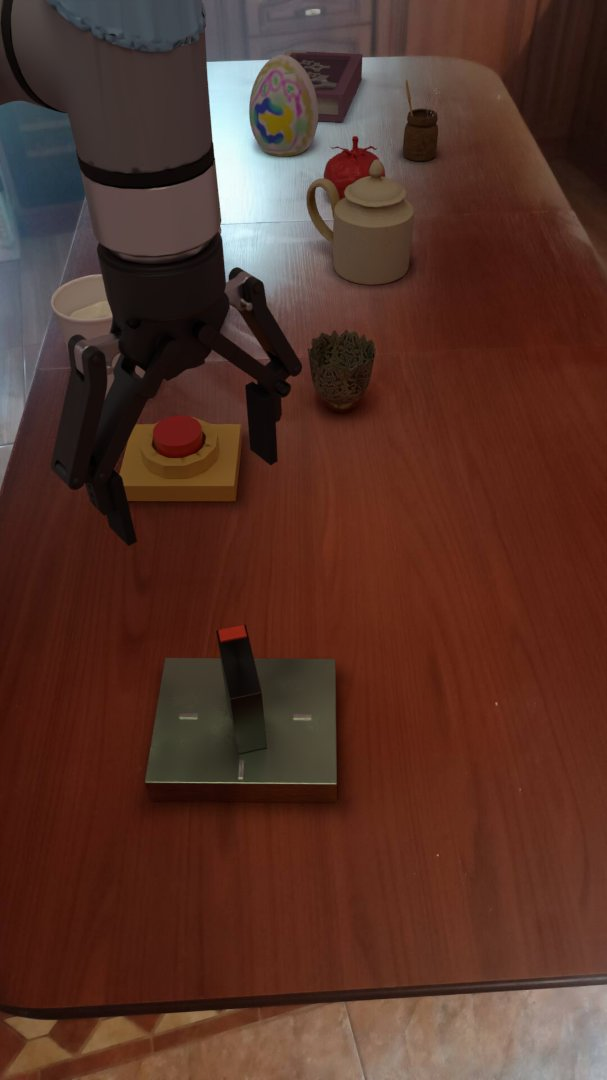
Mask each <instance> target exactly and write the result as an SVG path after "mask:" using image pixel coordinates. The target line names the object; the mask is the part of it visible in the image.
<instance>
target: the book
mask: <svg viewBox="0 0 607 1080" xmlns="http://www.w3.org/2000/svg"><path fill="white" fill-rule="evenodd" d="M283 55H287V56H290V57H292V58H294V59H295V60H296V61H297V62H299V64H300V65H301V66H302V67H303V68H304V69H305V71H306V72H307V74H308V76H309V78H310V80H311V82H312V84H313V87H314V90H315V93H316V98H317V103H318V122H329V123H343V122H344V120H345V118H346V115H347V113H348V111H349V109H350V106H351V104H352V102H353V100H354V98H355V95H356V94H357V91H358V88H359V86H360V85H361V83H362V79H363V53H348V52H347V53H345V52H327V51H325V52H324V51H308V50H298V49H297V50H296V49H287V50H286V51H285V52H284V54H283Z"/></svg>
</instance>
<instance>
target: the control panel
mask: <svg viewBox="0 0 607 1080" xmlns="http://www.w3.org/2000/svg"><path fill="white" fill-rule="evenodd" d="M163 660H164V661H163V668H162V673H161V679H160V686H159V690H158V691H159V692H158V697H157V704H156V710H155V715H154V716H155V717H154V723H153V729H152V735H151V739H150V747H149V751H148V752H149V753H148V758H147V759H148V760H147V764H146V771H145V778H144V785H145V787H146V791H147V794H148V797H149V799H150V801H151V802H231V803H232V802H234V803H235V802H236V803H237V802H238V803H245V802H246V803H333V804H334V803H337V798H338V747H337V745H338V744H337V743H338V742H337V741H338V740H337V739H338V737H337V677H336V676H337V674H336V673H337V670H336V669H337V666H336V665H337V662H336V661H337V660H336V658H301V657H300V658H297V657H296V658H295V657H294V658H282V657H281V658H277V657H275V658H274V657H273V658H272V657H271V658H268V657H266V658H265V657H263V658H262V657H254V661H255V666H256V670H257V674H258V678H259V682H260V687H261V691H262V699H263V710H264V720H265V730H266V741H267V747H266V748H262V749H257V750H253V751H248V752H244V753H239V754H238V750H237V745H236V740H235V735H234V730H233V725H232V720H231V715H230V710H229V705H228V700H227V695H226V690H225V685H224V678H223V672H222V665H221V659H220V657H165V658H164V659H163Z"/></svg>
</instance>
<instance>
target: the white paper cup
mask: <svg viewBox="0 0 607 1080" xmlns="http://www.w3.org/2000/svg"><path fill="white" fill-rule="evenodd" d="M50 308H51V310H52V312H53V315H54V317H55V321H56V324H57V326H58V329H59V332H60V336H61V338H62V342H63V344H64V347H65V350H66V354H67V356H68V357H69V351H68V341H69V339H70V338H71V337H72V336H74V335H78V334H79V335H82V336H83V337H84V338H86V339H87V340H90V339H94V338H97V337H100V336H103V335H107V334H110V329H111V326H112V312H111V309H110V306H109V303H108V300H107V297H106V292H105V287H104V282H103V278H102V273H97V274H88V275H83V276H81V277H78V278H74V279H71V280H69V281H67V282H66V283H64V284H62V285H61V286H59V287H57V288H56V290H55V291H54V292H53V293H52V296H51V298H50ZM120 354H121V353H119V354H117V355H116V356H115V357H114V359H113V361H112V367H113V369H114V367H115V365H116V363H117V361H118V358H119V356H120ZM135 372H136V374H138V375H139V376H140V377H141V378H143V376H144V374H145V371H144V370H142V369H141V368H140V367H138V366H136V368H135ZM113 381H114V374H113V373H112V374H110V375H107V390H106V395H105V398H106V396H107V394H108V392H109V389H110V387H111V385H112V383H113Z"/></svg>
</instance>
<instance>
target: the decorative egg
mask: <svg viewBox="0 0 607 1080" xmlns="http://www.w3.org/2000/svg"><path fill="white" fill-rule="evenodd" d="M250 92H251V93H250V96H249V98H250V99H249V107H248V114H249V124H250V128H251V132H252V135H253V137H254V139H255V141H256V143H257V145H258V146H259V147H260V148H261V150H262V151H263V152H264V153H266V154H268V155H271V156H274V157H275V156H276V157H293V156H297V155H300V154H302V153H304V152H306V150H307V149H308V148H309V147H310V146H311V144H312V142H313V140H314V138H315V136H316V133H317V130H318V124H319V121H318V103H317V98H316V93H315V90H314V87H313V84H312V82H311V80H310V78H309V76H308V74H307V72H306V71H305V69H304V68H303V67H302V66H301V65H300V64H299V62H297V61H296V60H295V59H294V58H292V57H290V56H287V55H284V54H277V55H275V56H273V57H271V58H270V59H268V61H267V62H265V64H264V65H263V66H262V68H261V69H260V71H259V72H258V74H257V76H256V78H255V80H254V82H253V85H252V88H251V91H250Z"/></svg>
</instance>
